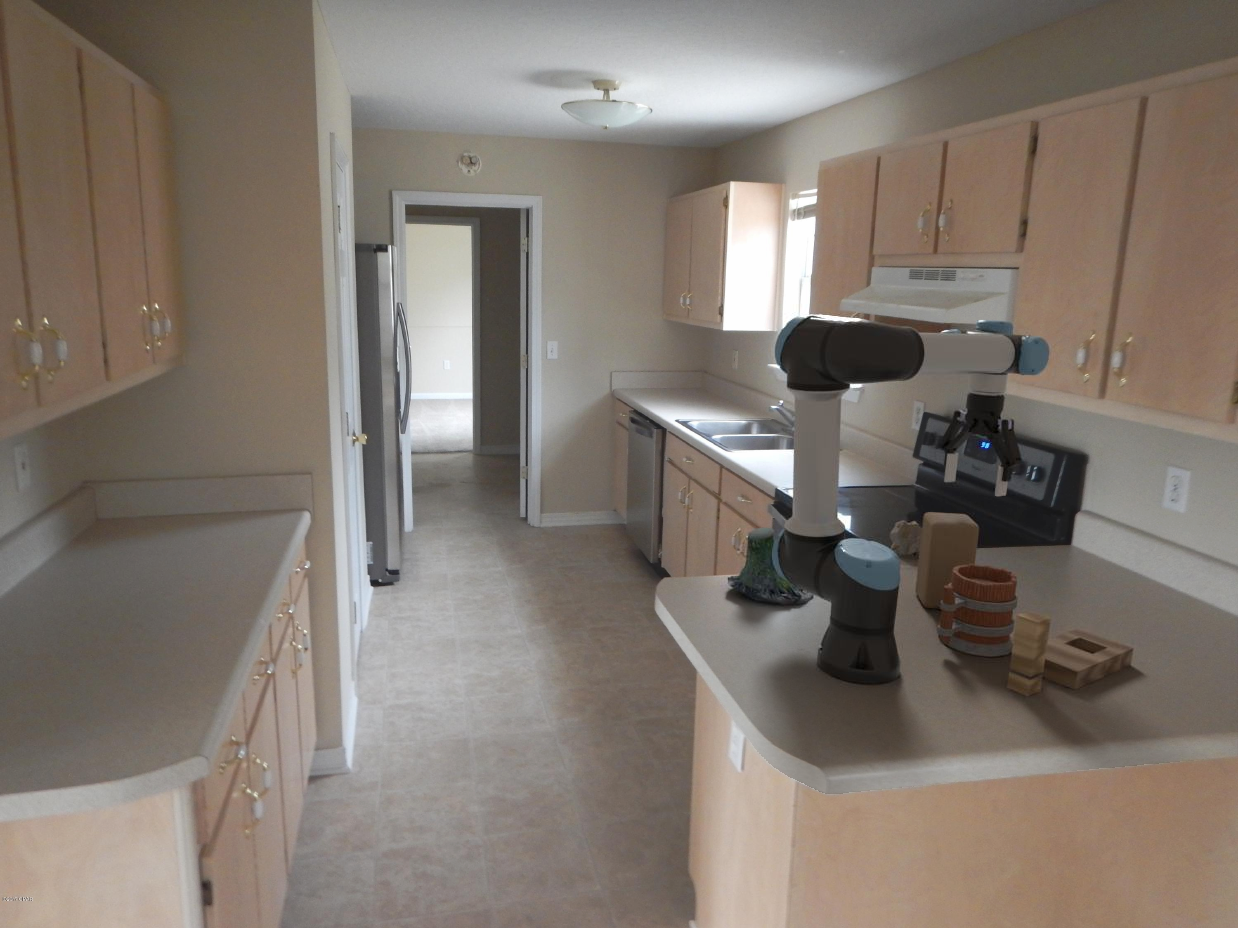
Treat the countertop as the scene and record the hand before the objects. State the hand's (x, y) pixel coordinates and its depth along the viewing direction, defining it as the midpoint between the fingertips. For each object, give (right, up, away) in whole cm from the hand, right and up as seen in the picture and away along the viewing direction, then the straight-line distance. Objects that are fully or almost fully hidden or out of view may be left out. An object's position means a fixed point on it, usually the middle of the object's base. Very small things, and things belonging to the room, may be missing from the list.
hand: (974, 488), depth 196 cm
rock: (-1, -19, +38) cm, 43 cm away
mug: (-8, -31, -17) cm, 37 cm away
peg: (-5, -35, -36) cm, 50 cm away
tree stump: (-43, -25, +9) cm, 51 cm away
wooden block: (-5, -26, +6) cm, 27 cm away
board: (+9, -33, -25) cm, 43 cm away
